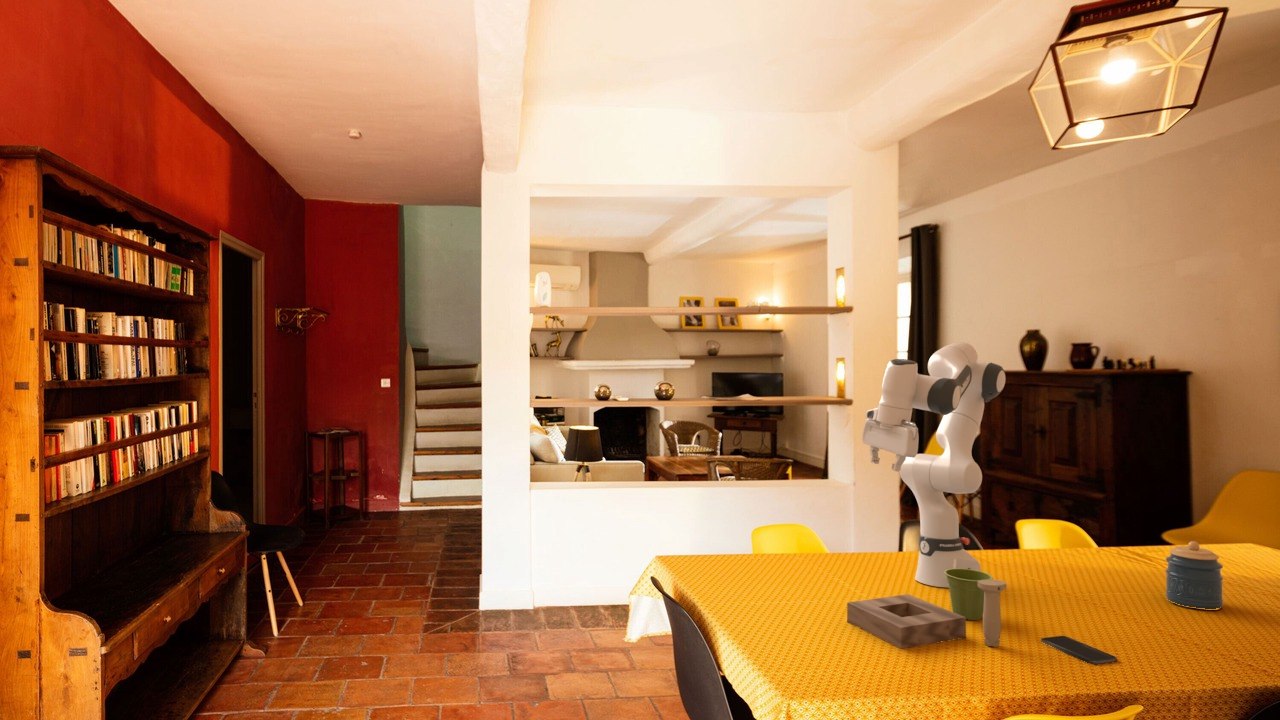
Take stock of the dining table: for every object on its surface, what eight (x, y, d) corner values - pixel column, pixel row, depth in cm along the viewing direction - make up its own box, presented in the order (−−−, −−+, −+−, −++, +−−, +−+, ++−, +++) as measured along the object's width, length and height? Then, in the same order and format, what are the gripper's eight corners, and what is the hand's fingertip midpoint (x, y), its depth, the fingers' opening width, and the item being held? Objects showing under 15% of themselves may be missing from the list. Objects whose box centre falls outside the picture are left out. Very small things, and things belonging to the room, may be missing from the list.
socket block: (908, 612, 200) (908, 594, 200) (965, 637, 182) (965, 617, 182) (847, 621, 193) (847, 602, 193) (900, 649, 174) (900, 627, 174)
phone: (1092, 662, 165) (1038, 638, 179) (1092, 667, 165) (1038, 642, 179) (1120, 658, 167) (1064, 635, 182) (1120, 663, 167) (1064, 639, 182)
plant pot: (972, 626, 190) (972, 582, 190) (934, 613, 200) (934, 571, 200) (1002, 619, 195) (1002, 576, 195) (964, 606, 205) (964, 566, 206)
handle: (1010, 647, 175) (1010, 584, 175) (987, 650, 174) (987, 586, 174) (996, 640, 180) (996, 578, 180) (973, 642, 178) (973, 580, 178)
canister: (1225, 603, 209) (1225, 541, 209) (1220, 615, 200) (1220, 549, 200) (1169, 594, 218) (1169, 534, 218) (1162, 604, 208) (1161, 541, 209)
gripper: (928, 425, 194) (919, 476, 195) (880, 413, 214) (872, 460, 214) (908, 422, 192) (899, 474, 193) (862, 410, 212) (854, 458, 212)
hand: (884, 467), depth 203 cm, fingers open, 8 cm apart
